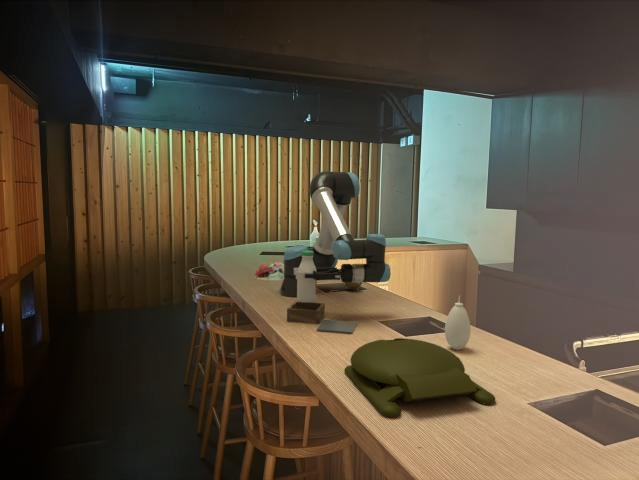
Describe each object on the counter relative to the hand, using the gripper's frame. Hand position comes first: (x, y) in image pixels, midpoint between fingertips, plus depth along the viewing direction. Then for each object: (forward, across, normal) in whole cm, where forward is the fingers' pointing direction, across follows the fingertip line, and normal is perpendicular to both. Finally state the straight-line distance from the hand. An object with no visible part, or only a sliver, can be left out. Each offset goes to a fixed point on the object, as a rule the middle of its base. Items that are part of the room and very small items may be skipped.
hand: (294, 273), depth 181 cm
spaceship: (-25, -63, -18) cm, 71 cm away
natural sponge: (-35, +48, -19) cm, 62 cm away
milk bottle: (-5, 0, -11) cm, 12 cm away
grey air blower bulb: (-50, -40, -18) cm, 66 cm away
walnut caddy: (-5, 0, -18) cm, 19 cm away
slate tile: (-15, -13, -18) cm, 27 cm away
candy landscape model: (+3, +89, -20) cm, 91 cm away
